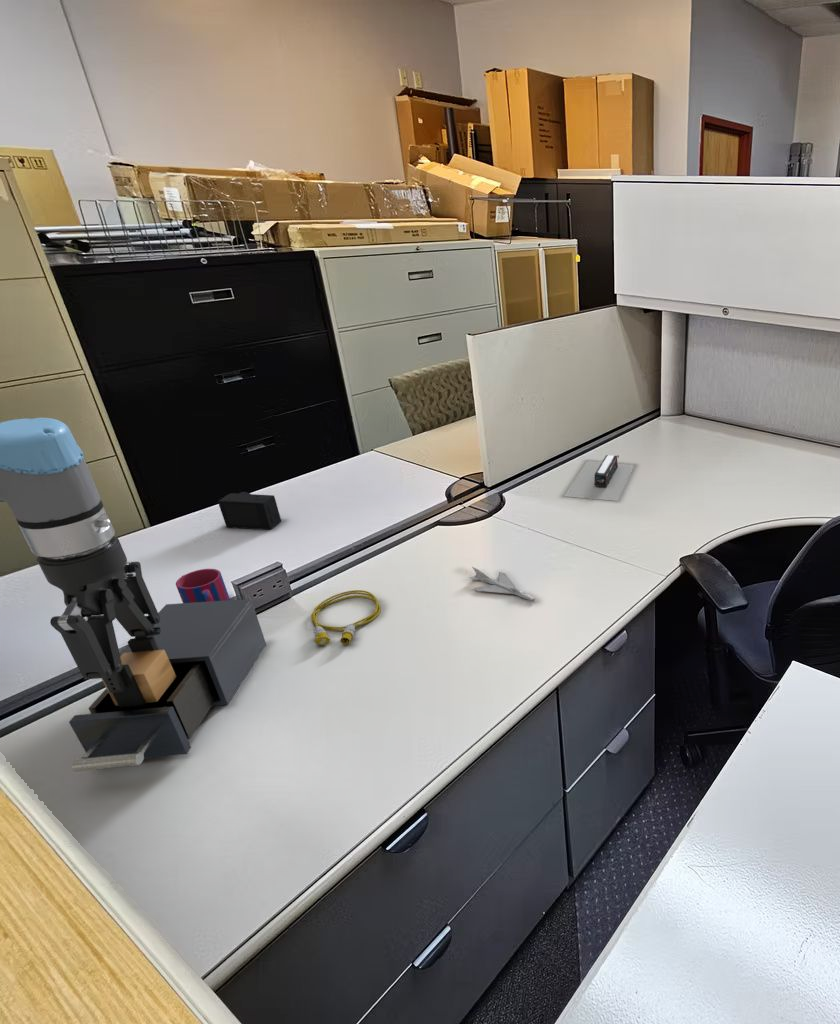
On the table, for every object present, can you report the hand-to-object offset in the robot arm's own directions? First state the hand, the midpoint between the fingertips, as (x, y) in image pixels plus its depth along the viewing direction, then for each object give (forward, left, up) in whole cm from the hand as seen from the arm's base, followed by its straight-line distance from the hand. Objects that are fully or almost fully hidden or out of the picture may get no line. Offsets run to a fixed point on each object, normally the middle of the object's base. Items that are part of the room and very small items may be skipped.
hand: (144, 689), depth 86 cm
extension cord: (+17, +25, -9) cm, 31 cm away
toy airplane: (+44, +33, -9) cm, 56 cm away
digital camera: (-13, +66, -9) cm, 68 cm away
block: (0, 0, 0) cm, 0 cm away
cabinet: (0, +12, -8) cm, 15 cm away
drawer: (0, -1, -7) cm, 8 cm away
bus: (+69, +84, -9) cm, 109 cm away
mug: (-7, +30, -9) cm, 32 cm away
